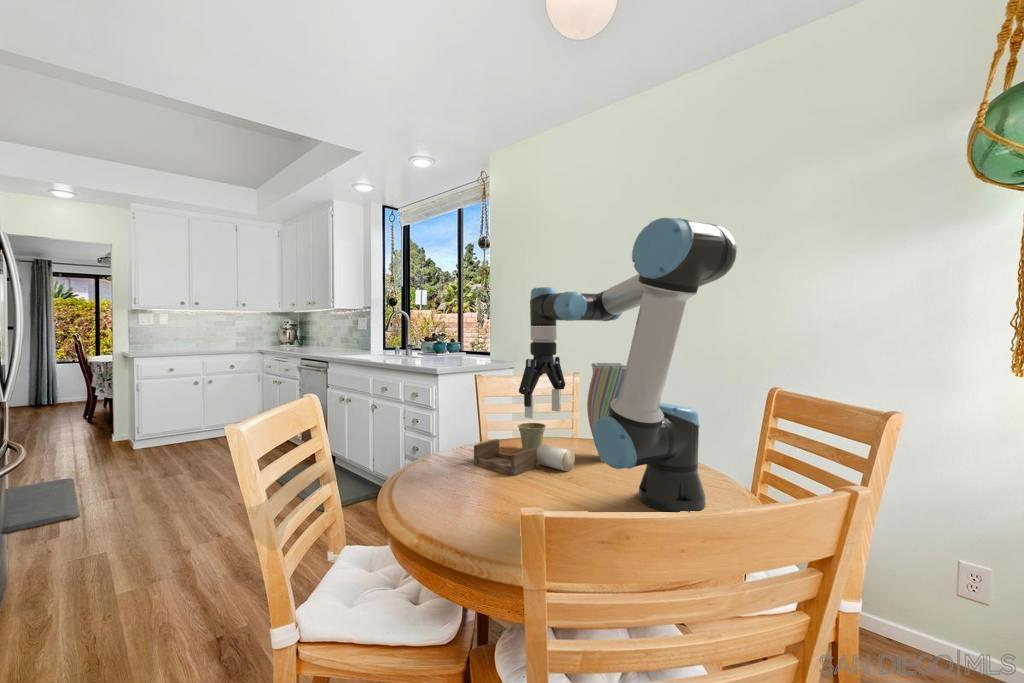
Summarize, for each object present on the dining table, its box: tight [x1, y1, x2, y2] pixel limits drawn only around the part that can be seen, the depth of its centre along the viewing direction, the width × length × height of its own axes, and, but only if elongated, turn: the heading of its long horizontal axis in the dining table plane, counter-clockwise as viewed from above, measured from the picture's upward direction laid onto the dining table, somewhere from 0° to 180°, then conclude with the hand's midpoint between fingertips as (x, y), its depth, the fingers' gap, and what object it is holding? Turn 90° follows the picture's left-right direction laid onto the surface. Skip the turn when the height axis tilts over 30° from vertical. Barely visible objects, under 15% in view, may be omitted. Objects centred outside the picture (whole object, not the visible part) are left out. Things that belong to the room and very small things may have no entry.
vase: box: [586, 362, 627, 463], centre depth 144 cm, size 14×14×30 cm
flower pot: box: [517, 422, 547, 451], centre depth 154 cm, size 9×9×9 cm
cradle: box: [473, 438, 538, 477], centre depth 138 cm, size 16×10×6 cm, turn 49°
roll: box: [537, 444, 576, 472], centre depth 136 cm, size 10×6×6 cm, turn 49°
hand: (543, 414), depth 135 cm, fingers open, 13 cm apart
